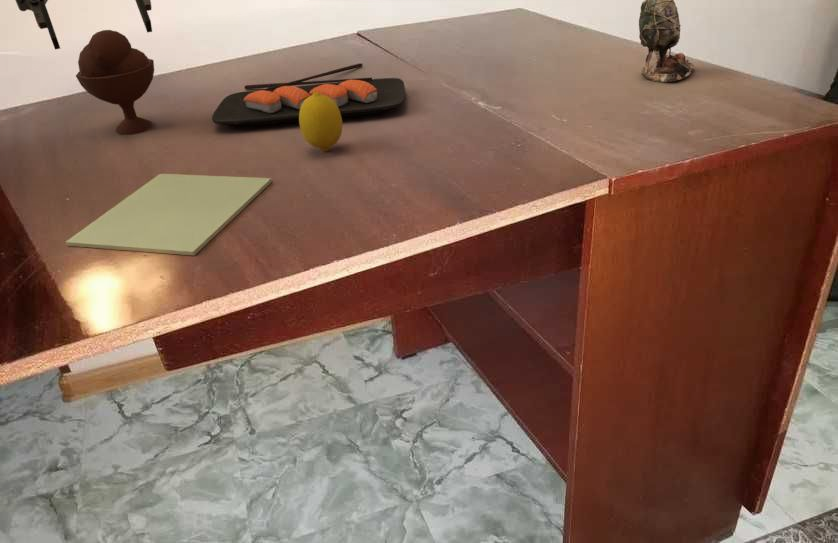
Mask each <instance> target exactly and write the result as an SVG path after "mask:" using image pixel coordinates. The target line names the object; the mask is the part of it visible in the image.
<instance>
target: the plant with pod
mask: <svg viewBox="0 0 838 543" xmlns="http://www.w3.org/2000/svg"><path fill="white" fill-rule="evenodd" d="M681 27H682V26H681V23H680V16H679V12H678V7H677V6H676V2H675V0H644V1H642V2H641V5H640V13H639V18H638V31H639V34H638V35H639V40H640V44H641V46H642V47H647V51H648V54H647V55H646V58H645V67H642V71H641V73H640V75H641V76H642V77H643V78H644V79H647V80H649V81H652V82H655V81H656V82H657V83H658V82H660V83H661V82H663V83H668V82H669V83H671V82H676V81H680V80H682V79H684V78H686V77H688V76H690V75H691V73H692V71H693V70H695V65H694V64H693V63H692V62H689V61H690V60H689V59H687V60H686V54H684V53H683V52H679V53H676V54H674V55H673V54H672V53H671V52H672V49H673V48H674V47H676V46H677V45H678V43H679V42H680V39H681ZM668 51H669V53H668V54H667V52H668ZM653 53H654V56H655V57H656V61H655V64H651V65H650V62H651V59H652V57H653Z"/></svg>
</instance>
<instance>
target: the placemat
mask: <svg viewBox="0 0 838 543" xmlns="http://www.w3.org/2000/svg"><path fill="white" fill-rule="evenodd" d="M272 182H273V179H272V178H271V177H253V176H252V177H251V176H250V177H249V176H227V175H206V174H205V175H201V174H177V173H159V174H158V175H156V176H155V177H153V178H152V179H150V180H149V181H148V182H147V183H145V184H144V185H143V186H141V187H139V188H138V189H137V190H135V191H134V192H132V193H131V194H130V195H128V196H127V197H125V198H124V199H123V200H121V201H120V202H119V203H117V204H116V205H114V206H113V207H112V208H110V209H109V210H108V211H106V212H104V213H103V214H102V215H101V216H99V217H98V218H96V219H95V220H93V221H92V222H91V223H89V224H88V225H87V226H85V227H84V228H83V229H82V230H80V231H78V232H77V233H76V234H74V235H73V236H71V237H70V238H69V239H67V240H66V241H65V245H66V246H67V247H78V248H91V249H103V250H104V249H105V250H115V251H117V250H118V251H129V252H141V253H144V252H145V253H153V254H154V253H155V254H167V255H179V256H180V255H182V256H193V257H194V256H196V255H197V254H198V253H199V252H200V251H201V250H202V249H203V248H204V247H206V245H207V244H209V243H210V242H211V240H212V239H214V238H215V237H216V236H217V235H218V234H219V233H220V232H221V231H222V230H223V229H224V228H225V227H226V226H228V224H230V222H231V221H233V220H234V219H235V218H236V217H237V216H238V215H239V214H240V213H241V212H242V211H243V210H244V209H245V208H247V206H248V205H249V204H251V202H253V200H255V198H257V197H258V196H259V195H260V194H261V193H262V192H263V191H264V190H265V189H266V188H267V187H268V186H269V185H270V184H271V183H272Z"/></svg>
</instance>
